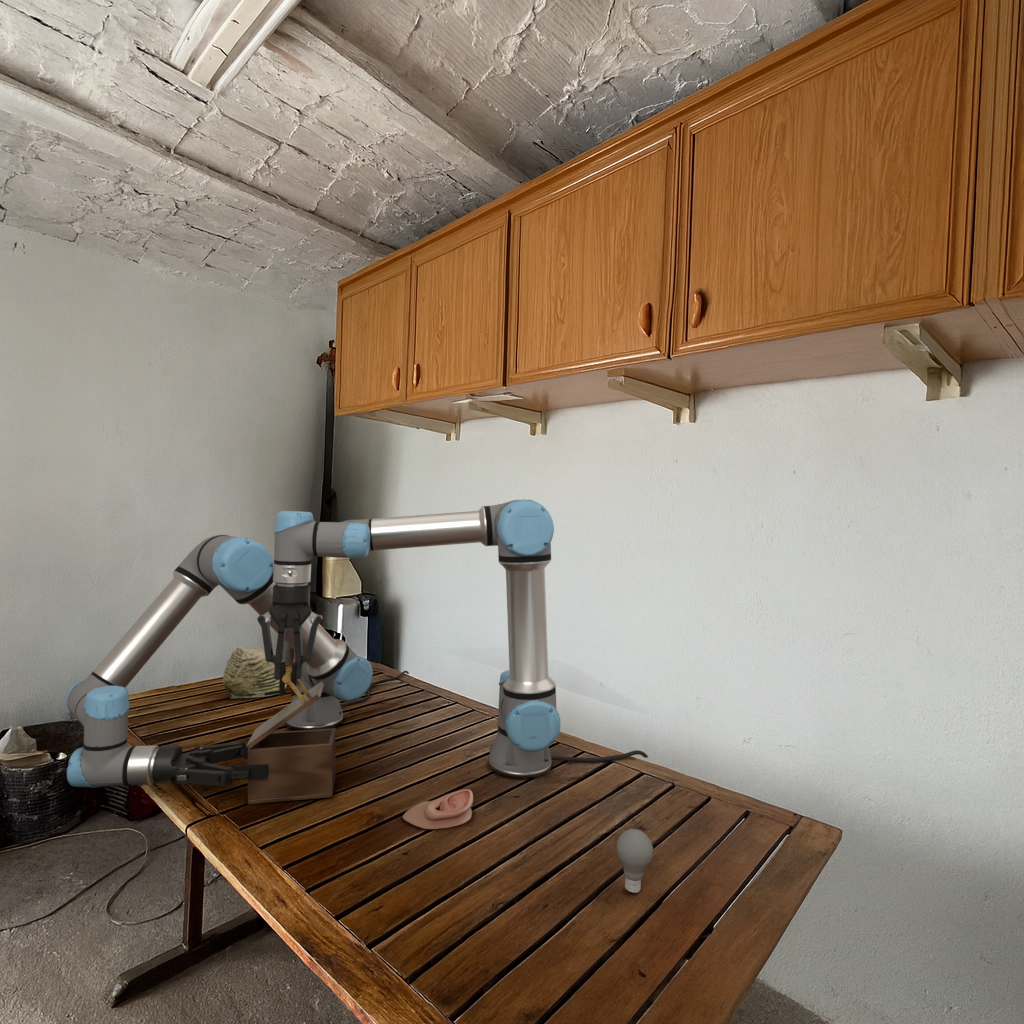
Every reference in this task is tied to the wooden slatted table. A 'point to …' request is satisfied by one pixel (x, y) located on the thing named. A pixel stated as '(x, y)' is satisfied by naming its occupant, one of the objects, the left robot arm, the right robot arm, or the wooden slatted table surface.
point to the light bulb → (634, 857)
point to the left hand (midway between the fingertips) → (272, 761)
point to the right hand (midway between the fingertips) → (287, 693)
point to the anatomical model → (442, 811)
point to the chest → (294, 766)
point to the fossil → (250, 674)
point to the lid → (287, 709)
